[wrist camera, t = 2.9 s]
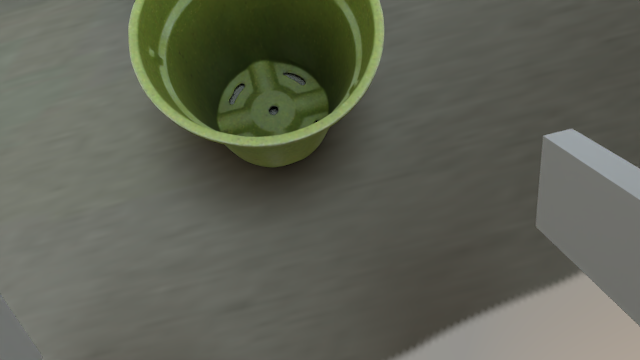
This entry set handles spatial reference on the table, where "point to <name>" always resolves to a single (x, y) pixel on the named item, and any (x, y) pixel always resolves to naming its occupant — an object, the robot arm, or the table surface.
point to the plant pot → (256, 68)
